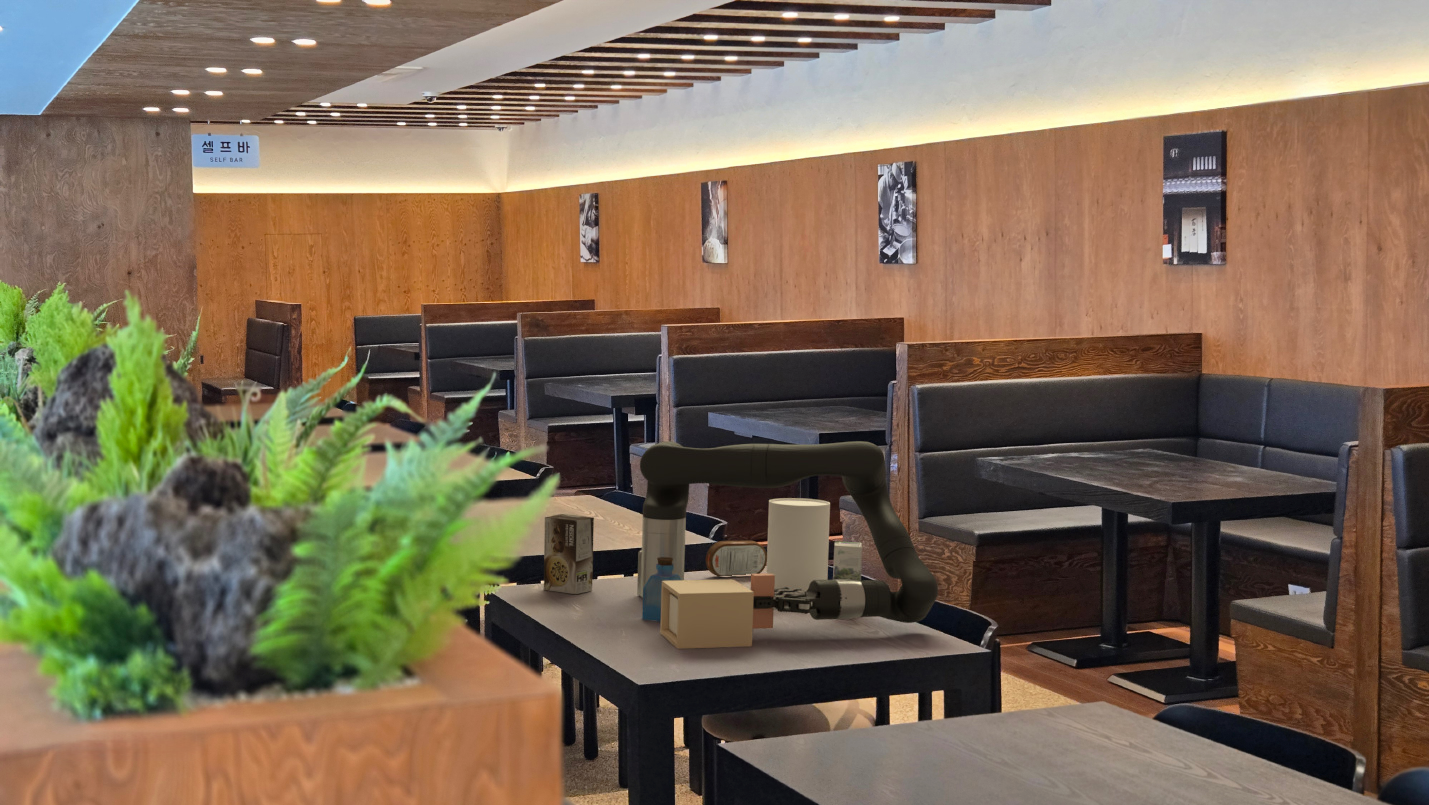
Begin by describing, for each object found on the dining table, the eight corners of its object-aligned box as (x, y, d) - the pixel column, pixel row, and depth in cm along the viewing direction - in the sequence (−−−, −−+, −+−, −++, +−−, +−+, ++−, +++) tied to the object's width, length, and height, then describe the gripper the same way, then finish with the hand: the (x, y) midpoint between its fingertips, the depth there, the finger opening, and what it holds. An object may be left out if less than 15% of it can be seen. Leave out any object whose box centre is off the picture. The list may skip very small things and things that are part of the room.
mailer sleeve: (677, 648, 257) (679, 593, 256) (660, 633, 269) (661, 580, 269) (751, 646, 261) (753, 592, 260) (731, 631, 273) (733, 579, 273)
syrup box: (859, 610, 298) (862, 541, 297) (859, 616, 292) (862, 545, 291) (832, 609, 298) (834, 540, 297) (831, 614, 292) (834, 544, 292)
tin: (762, 574, 339) (763, 539, 338) (768, 576, 336) (769, 541, 335) (704, 577, 332) (705, 541, 332) (709, 579, 330) (711, 543, 329)
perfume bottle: (684, 617, 285) (686, 557, 284) (670, 622, 279) (672, 562, 279) (656, 614, 288) (658, 554, 287) (642, 619, 282) (644, 559, 281)
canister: (819, 599, 309) (823, 507, 308) (759, 594, 313) (762, 503, 312) (832, 588, 322) (835, 500, 321) (774, 584, 326) (777, 496, 325)
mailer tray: (683, 641, 258) (685, 581, 258) (668, 628, 268) (670, 571, 268) (780, 638, 263) (782, 579, 263) (762, 626, 274) (764, 569, 273)
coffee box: (593, 591, 310) (595, 517, 309) (575, 595, 305) (577, 520, 304) (560, 585, 315) (562, 513, 314) (541, 589, 310) (543, 515, 309)
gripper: (824, 573, 278) (739, 575, 273) (850, 586, 265) (761, 588, 260) (822, 611, 279) (737, 613, 274) (848, 626, 265) (760, 629, 261)
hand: (749, 601), depth 267 cm, fingers closed on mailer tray, 2 cm apart
